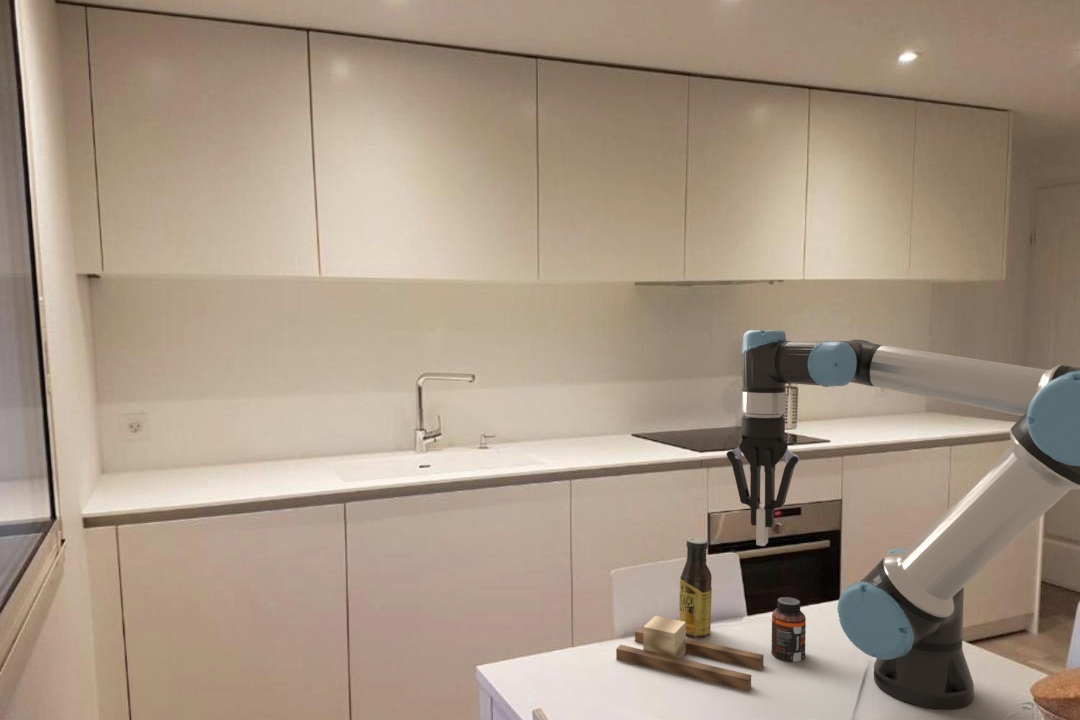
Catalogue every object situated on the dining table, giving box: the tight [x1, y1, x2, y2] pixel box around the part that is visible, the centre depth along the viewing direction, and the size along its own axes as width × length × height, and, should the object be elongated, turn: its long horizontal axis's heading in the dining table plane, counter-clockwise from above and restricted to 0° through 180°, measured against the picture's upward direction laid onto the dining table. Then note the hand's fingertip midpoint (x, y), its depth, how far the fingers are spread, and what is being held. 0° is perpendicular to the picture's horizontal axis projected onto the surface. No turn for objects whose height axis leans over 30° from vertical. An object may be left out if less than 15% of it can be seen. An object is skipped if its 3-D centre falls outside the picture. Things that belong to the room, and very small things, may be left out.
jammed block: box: [642, 615, 687, 659], centre depth 134 cm, size 6×6×6 cm
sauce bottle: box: [678, 536, 713, 639], centre depth 144 cm, size 7×6×20 cm
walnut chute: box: [615, 627, 764, 692], centre depth 131 cm, size 24×12×3 cm, turn 60°
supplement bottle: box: [771, 596, 807, 663], centre depth 134 cm, size 6×6×11 cm
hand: (762, 543), depth 132 cm, fingers closed
